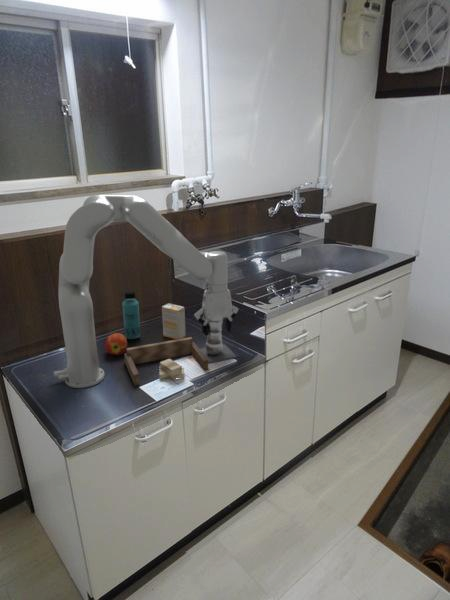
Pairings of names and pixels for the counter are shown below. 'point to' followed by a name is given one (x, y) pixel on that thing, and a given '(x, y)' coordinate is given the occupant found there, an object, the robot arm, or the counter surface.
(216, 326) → the plastic bottle
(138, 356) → the frame
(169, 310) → the supplement box
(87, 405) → the counter surface
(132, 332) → the beverage bottle
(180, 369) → the top offcut
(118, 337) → the apple
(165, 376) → the bottom offcut
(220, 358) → the mat
